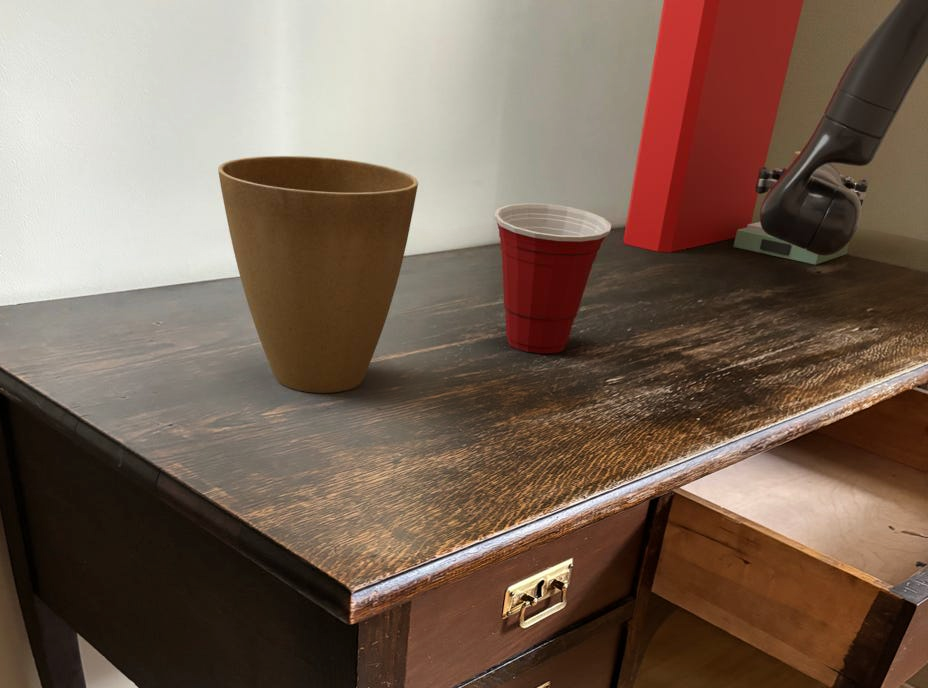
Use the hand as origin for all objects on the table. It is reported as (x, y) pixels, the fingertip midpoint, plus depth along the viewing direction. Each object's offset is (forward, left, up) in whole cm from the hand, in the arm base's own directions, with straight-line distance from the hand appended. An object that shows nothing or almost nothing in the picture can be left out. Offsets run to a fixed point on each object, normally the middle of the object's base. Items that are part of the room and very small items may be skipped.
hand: (810, 180), depth 135 cm
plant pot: (+5, +91, -11) cm, 92 cm away
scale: (+3, -8, -11) cm, 14 cm away
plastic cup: (-1, +67, -11) cm, 68 cm away
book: (+17, 0, -11) cm, 20 cm away
